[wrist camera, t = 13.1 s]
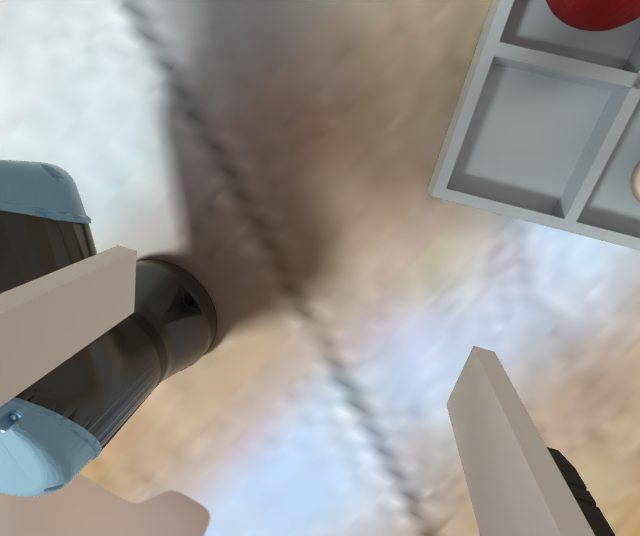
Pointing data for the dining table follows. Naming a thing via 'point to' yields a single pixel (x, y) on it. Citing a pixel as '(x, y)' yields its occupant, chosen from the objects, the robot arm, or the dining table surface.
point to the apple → (595, 13)
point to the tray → (548, 125)
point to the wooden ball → (636, 182)
